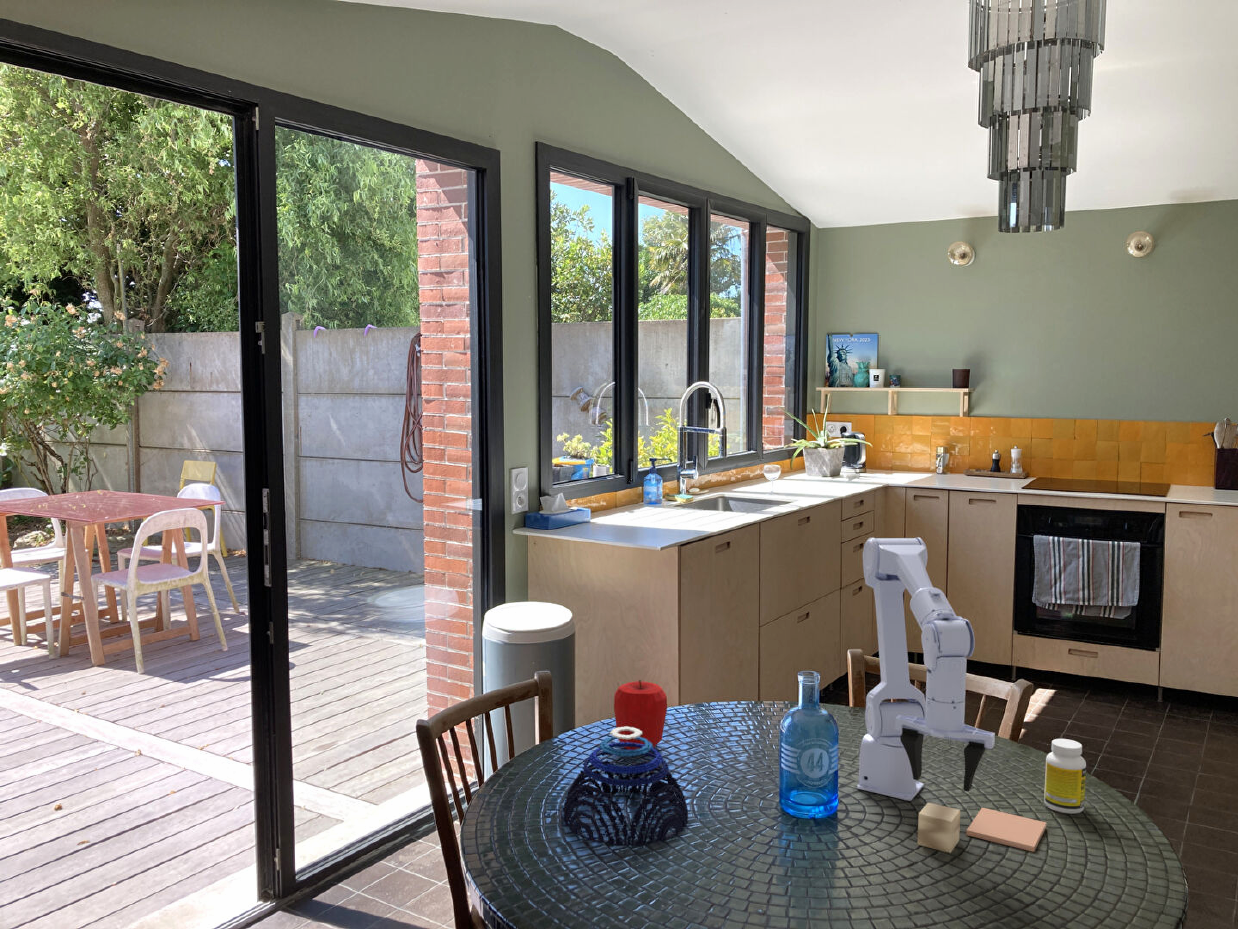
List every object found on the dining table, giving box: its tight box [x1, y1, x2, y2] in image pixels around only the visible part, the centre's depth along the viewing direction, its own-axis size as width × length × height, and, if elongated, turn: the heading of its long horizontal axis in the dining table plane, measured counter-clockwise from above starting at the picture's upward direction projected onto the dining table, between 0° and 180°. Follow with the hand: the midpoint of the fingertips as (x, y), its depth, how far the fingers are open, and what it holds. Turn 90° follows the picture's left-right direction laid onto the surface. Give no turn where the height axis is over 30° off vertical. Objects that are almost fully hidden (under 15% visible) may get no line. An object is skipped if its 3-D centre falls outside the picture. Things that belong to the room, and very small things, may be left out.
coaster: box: [966, 807, 1047, 853], centre depth 158 cm, size 10×10×1 cm
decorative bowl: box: [562, 726, 689, 847], centre depth 161 cm, size 20×20×14 cm
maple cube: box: [917, 802, 961, 854], centre depth 154 cm, size 5×5×5 cm
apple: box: [613, 679, 668, 750], centre depth 191 cm, size 11×10×14 cm
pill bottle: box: [1043, 738, 1087, 815], centre depth 167 cm, size 6×6×11 cm
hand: (942, 783), depth 153 cm, fingers open, 7 cm apart
